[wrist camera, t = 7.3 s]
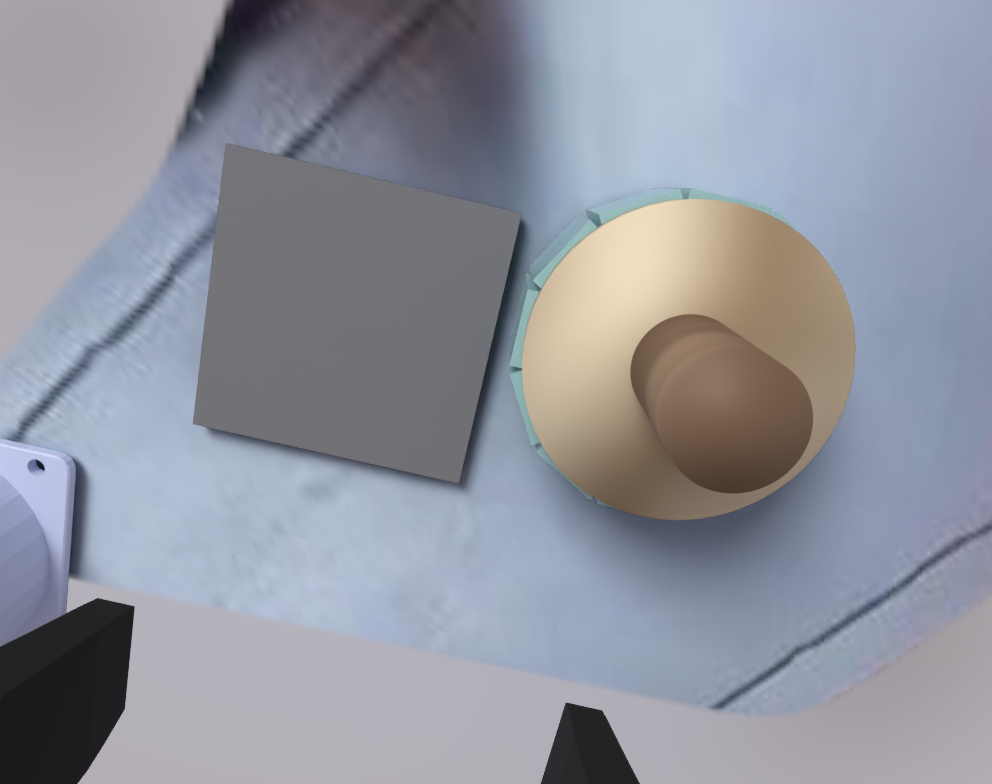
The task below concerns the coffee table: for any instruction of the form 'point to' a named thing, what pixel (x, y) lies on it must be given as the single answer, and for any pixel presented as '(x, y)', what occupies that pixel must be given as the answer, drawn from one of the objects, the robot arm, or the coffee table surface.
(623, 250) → the lid
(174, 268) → the coffee table surface
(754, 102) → the coffee table surface
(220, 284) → the mat
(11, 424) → the coffee table surface
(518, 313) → the bowl
